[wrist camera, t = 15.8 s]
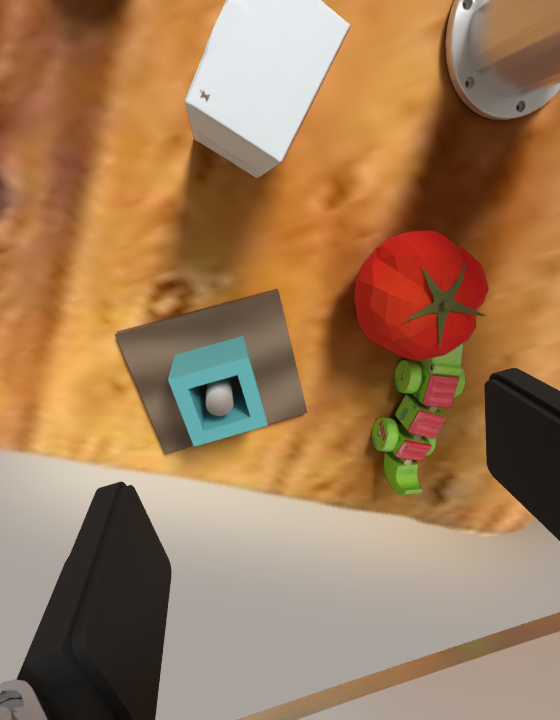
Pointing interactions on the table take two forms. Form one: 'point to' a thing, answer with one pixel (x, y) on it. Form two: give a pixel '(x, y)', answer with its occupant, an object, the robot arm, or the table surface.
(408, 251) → the tomato
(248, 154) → the small box
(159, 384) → the post board
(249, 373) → the bead
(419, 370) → the toy crocodile
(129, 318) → the table surface
